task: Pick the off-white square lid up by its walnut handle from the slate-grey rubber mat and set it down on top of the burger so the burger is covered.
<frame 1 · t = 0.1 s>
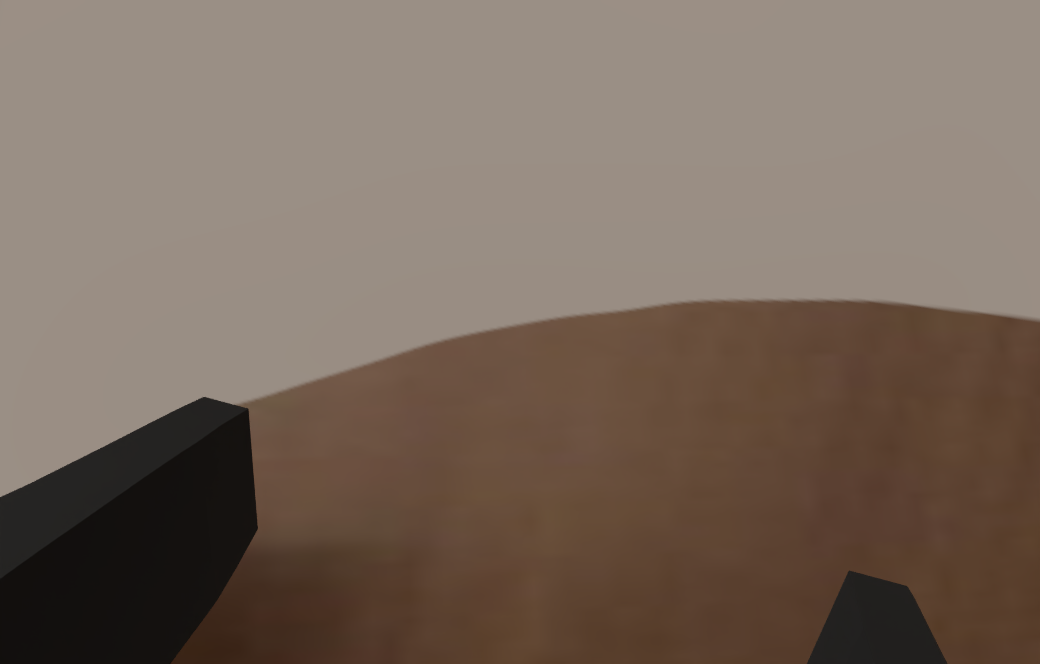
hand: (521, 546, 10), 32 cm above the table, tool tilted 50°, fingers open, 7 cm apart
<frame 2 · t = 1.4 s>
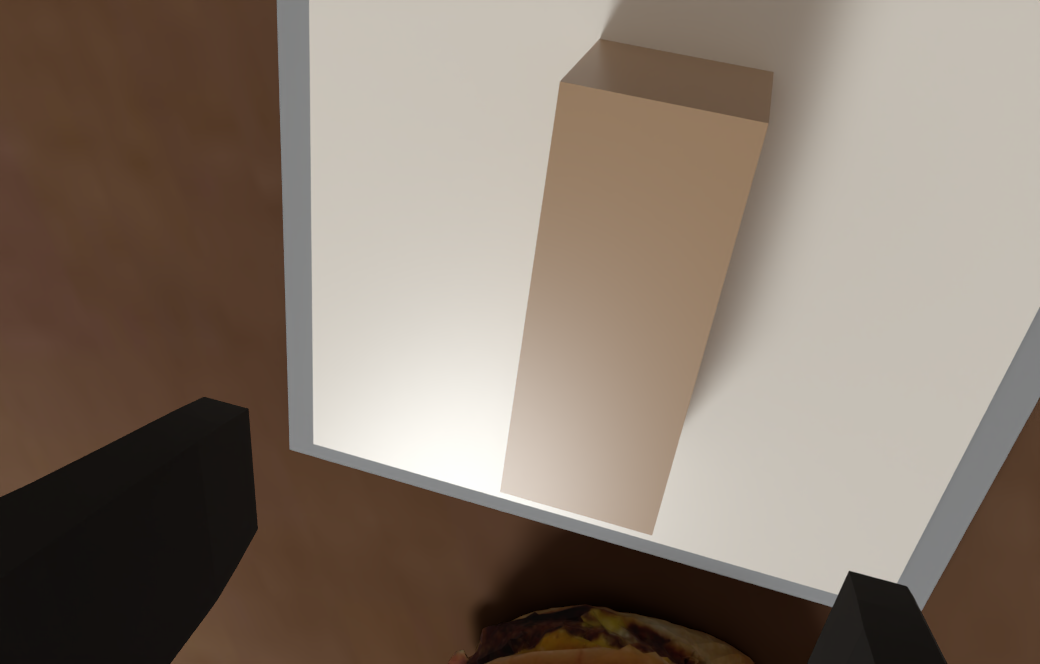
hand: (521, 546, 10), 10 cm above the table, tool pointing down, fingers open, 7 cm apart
lid: (644, 249, 17), point 1 cm above the table, touching mat
mat: (651, 230, 18), on the table
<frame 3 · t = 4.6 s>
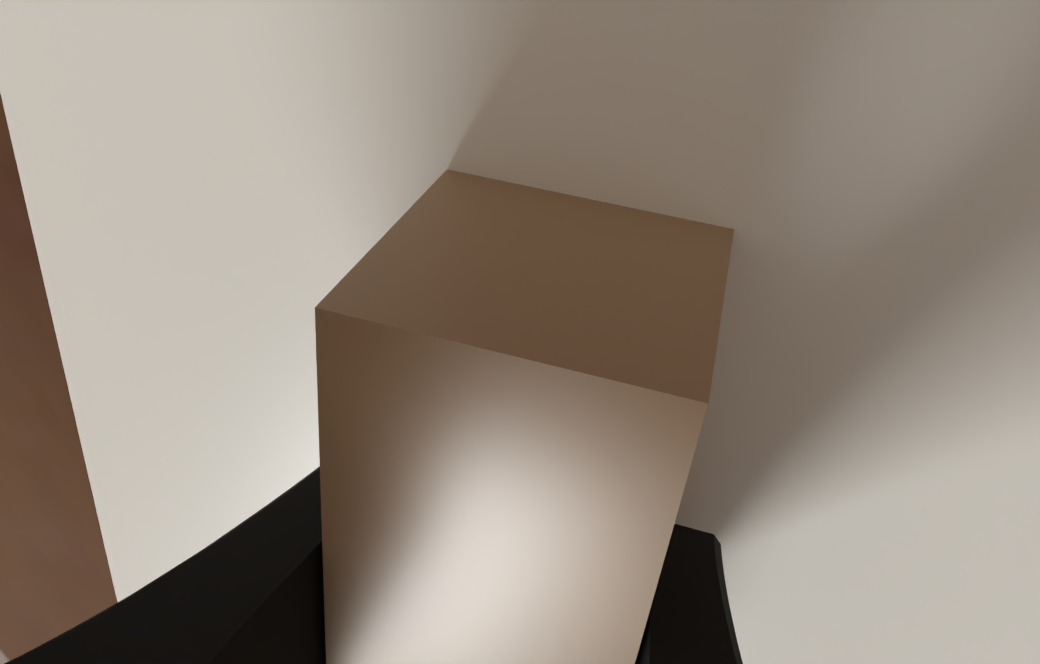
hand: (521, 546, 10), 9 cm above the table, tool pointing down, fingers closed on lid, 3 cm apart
lid: (551, 457, 11), point 8 cm above the table, touching gripper
when the fingers open (7 cm above the table, at t = 6.0 s): lid drops 1 cm, resting on burger.
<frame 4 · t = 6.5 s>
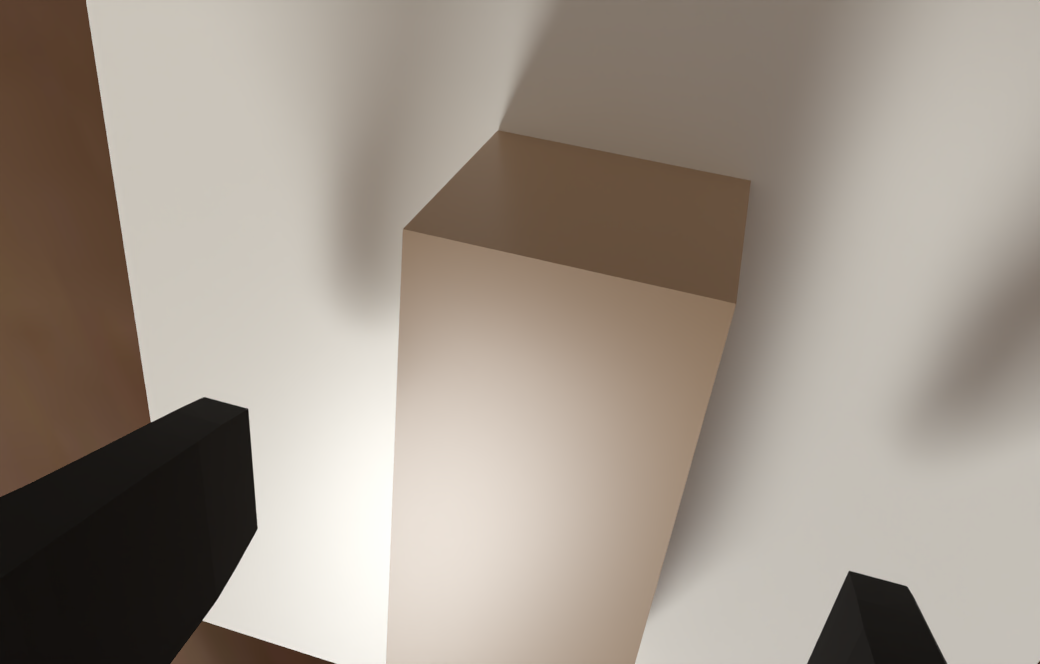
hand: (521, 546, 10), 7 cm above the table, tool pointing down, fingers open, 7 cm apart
lid: (581, 400, 13), point 4 cm above the table, touching burger
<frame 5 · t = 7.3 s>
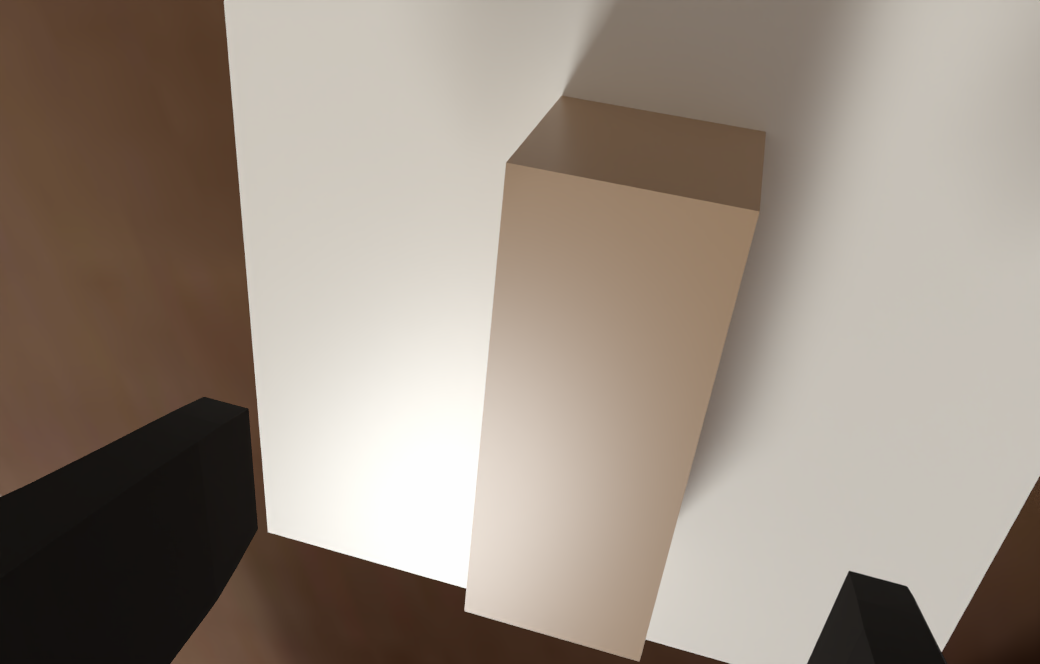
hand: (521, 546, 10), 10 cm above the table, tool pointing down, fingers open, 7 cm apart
lid: (624, 325, 15), point 4 cm above the table, touching burger
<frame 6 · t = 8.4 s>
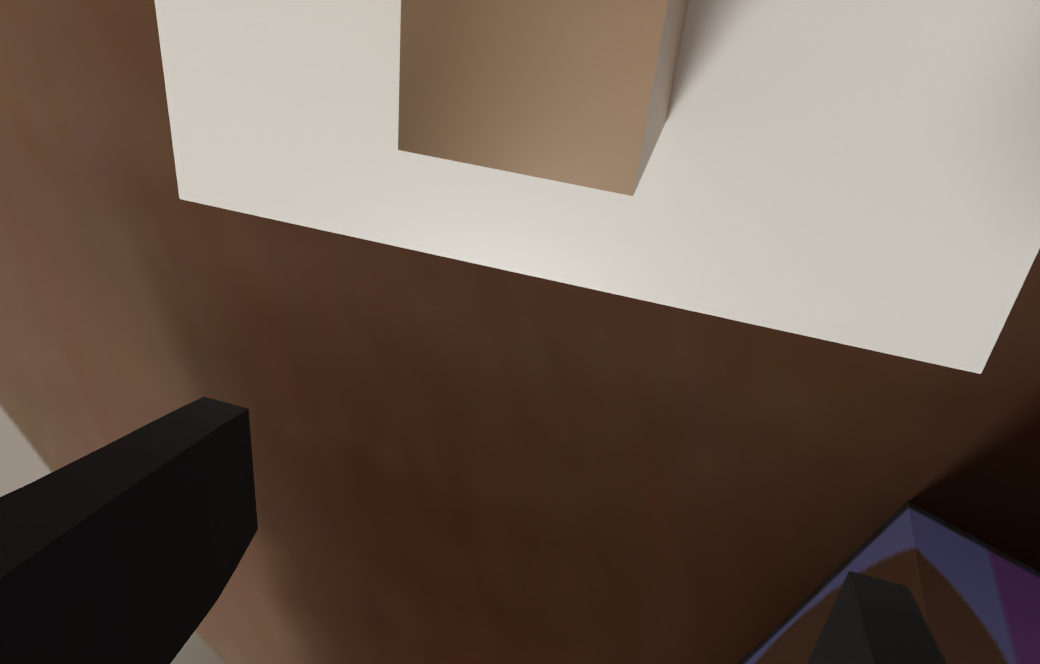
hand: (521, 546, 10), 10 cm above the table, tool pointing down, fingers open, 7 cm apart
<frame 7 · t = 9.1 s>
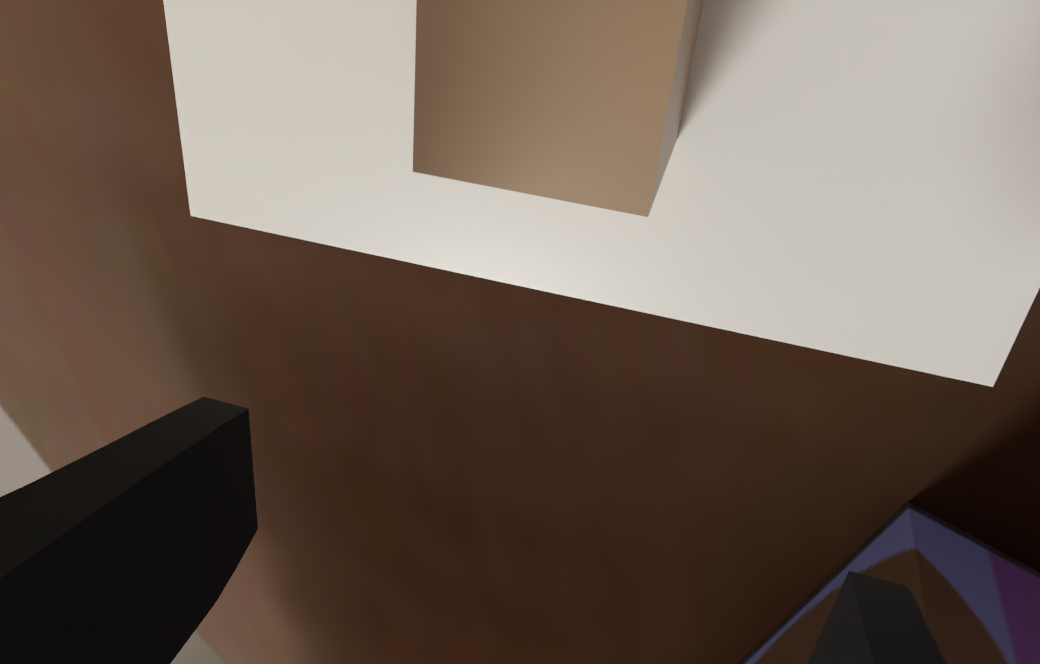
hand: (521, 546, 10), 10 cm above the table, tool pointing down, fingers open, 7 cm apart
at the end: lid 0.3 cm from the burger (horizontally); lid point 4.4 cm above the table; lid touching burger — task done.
